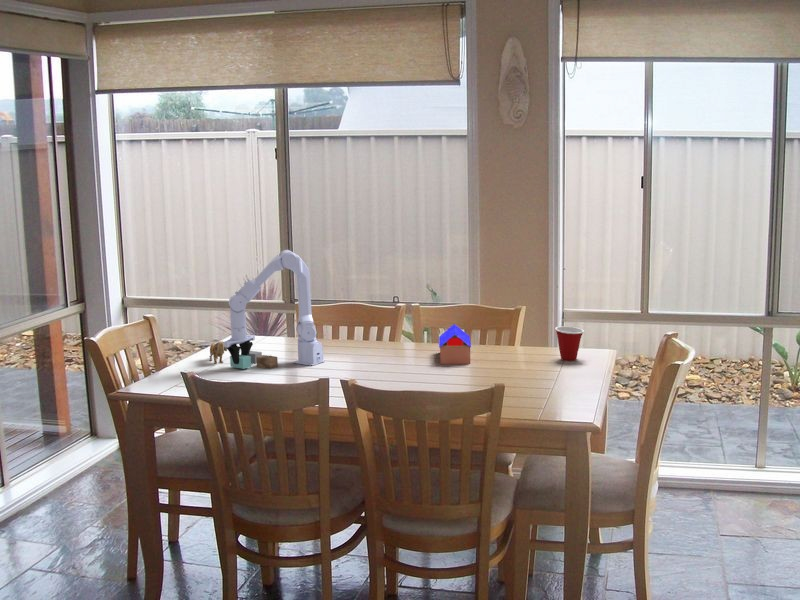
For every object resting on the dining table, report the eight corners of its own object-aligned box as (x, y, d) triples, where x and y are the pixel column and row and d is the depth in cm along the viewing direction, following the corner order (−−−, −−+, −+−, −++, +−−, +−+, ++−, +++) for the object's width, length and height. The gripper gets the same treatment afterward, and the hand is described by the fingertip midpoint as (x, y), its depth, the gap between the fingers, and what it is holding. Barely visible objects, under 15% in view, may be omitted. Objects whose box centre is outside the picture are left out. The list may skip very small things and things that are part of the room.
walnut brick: (277, 367, 340) (277, 356, 339) (271, 369, 336) (270, 359, 336) (263, 365, 343) (263, 354, 343) (256, 367, 340) (256, 357, 339)
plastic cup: (581, 363, 333) (582, 331, 331) (552, 361, 336) (552, 330, 334) (585, 356, 343) (585, 326, 341) (557, 355, 346) (557, 325, 344)
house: (439, 364, 337) (438, 334, 335) (439, 352, 357) (439, 324, 355) (471, 364, 336) (471, 334, 335) (469, 352, 356) (469, 323, 354)
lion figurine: (230, 364, 346) (229, 341, 344) (217, 366, 343) (216, 343, 341) (215, 357, 358) (214, 335, 356) (202, 359, 355) (201, 337, 353)
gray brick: (262, 362, 348) (261, 352, 348) (255, 364, 345) (255, 354, 344) (248, 360, 352) (247, 350, 351) (241, 362, 349) (241, 352, 348)
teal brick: (251, 366, 337) (250, 356, 337) (243, 368, 334) (242, 358, 334) (238, 364, 342) (237, 354, 341) (230, 366, 338) (229, 356, 338)
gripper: (244, 322, 344) (246, 357, 346) (216, 329, 332) (219, 365, 334) (258, 324, 340) (259, 359, 342) (230, 331, 328) (232, 367, 330)
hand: (240, 362), depth 338 cm, fingers closed on teal brick, 4 cm apart
